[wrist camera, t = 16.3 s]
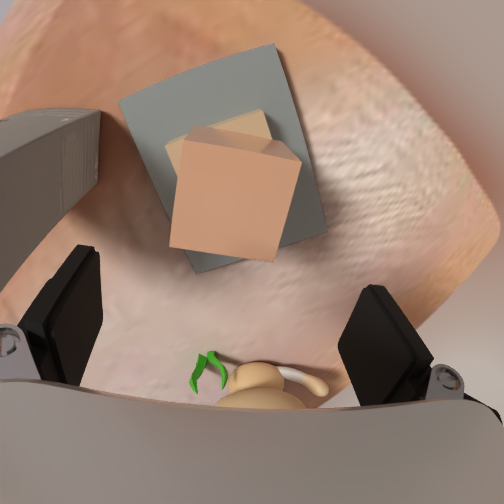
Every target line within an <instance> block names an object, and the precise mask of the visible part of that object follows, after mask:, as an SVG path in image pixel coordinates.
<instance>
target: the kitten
mask: <svg viewBox="0 0 504 504" xmlns="http://www.w3.org/2000/svg"><path fill="white" fill-rule="evenodd" d="M214 352H215V351H211V352H208V353H207V357H204V356H202V355H200V354H199V357H198V361H197V363H196V368H195V370H194V372H193V373H192V375H191V378H190V381H189V382H190V386H191V387H192V389H193V390H194V391H195V393H196V394H197V395H198V390H197V379H198V378H199V377H200V376H201V374H202V372H203V370H204V368H205V365H206V361H207V358H208V361H209V363H211V364H212V365H214V366H216V367H217V368H219V369H220V371H221V375H222V390H223V388H224V387H225V385H226V382H227V379H228V372H227V370H226V368H225V367H224V365H223V364H222V363H221V362H219V361H218V360H217V359H218V358H217V357H216V356H215V354H214ZM285 379H286V380H290V381H293V382H297V383H300V384H302V385H304V386H305V387H307V388H308V389H309V390H310V391H311V392H312V393H313V394H314V395H316V396H319V397H324V396H326V395H327V394H328V393H329V387H328V385H327V384H326V383H325V382H324V381H323V380H322V379H320V378H318V377H316V376H312V375H309V374H306V373H304V372H302V371H299V370H297V369H294V368H290V367H282V366H273V365H271V364H268V363H263V362H252V363H246V364H243V365H241V366H239V367H237V368H236V369H235V370H234V372H233V373H232V375H231V376H230V378H229V380H228V390H229V392H230V394H229V395H227V396H225V397H223V398H221V399H220V400H219V401H217V402H216V404H215V405H214V406H219V407H235V408H258V409H307V408H306V406H305V405H304V404H303V403H302V402H301V401H300V400H299V399H298V398H297V397H295V396H293V395H292V394H289V393H287V392H284V391H283V389H284V385H285Z"/></svg>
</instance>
